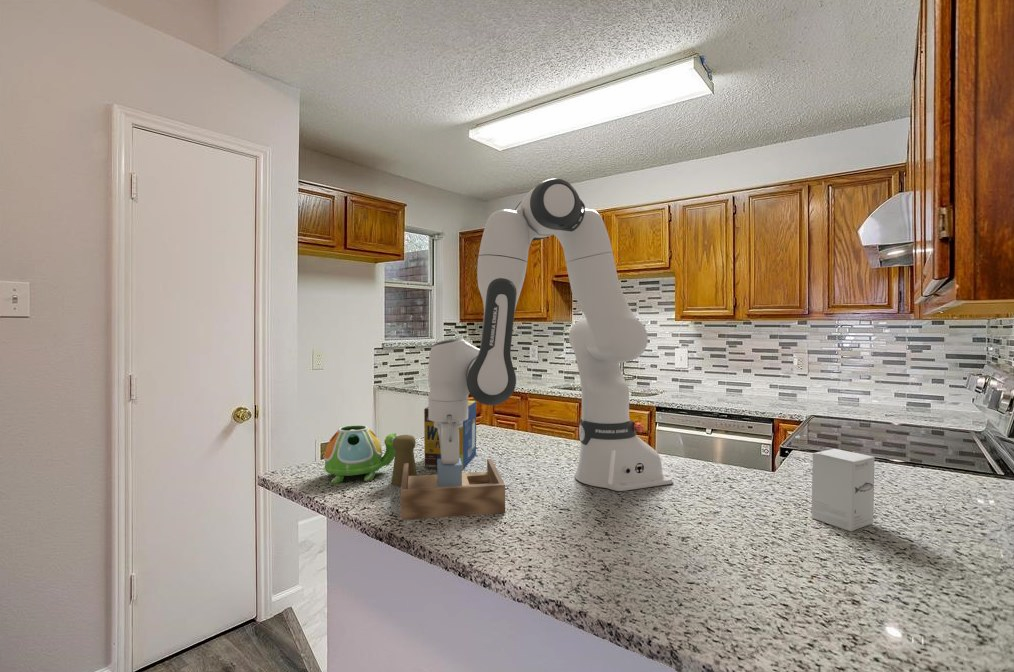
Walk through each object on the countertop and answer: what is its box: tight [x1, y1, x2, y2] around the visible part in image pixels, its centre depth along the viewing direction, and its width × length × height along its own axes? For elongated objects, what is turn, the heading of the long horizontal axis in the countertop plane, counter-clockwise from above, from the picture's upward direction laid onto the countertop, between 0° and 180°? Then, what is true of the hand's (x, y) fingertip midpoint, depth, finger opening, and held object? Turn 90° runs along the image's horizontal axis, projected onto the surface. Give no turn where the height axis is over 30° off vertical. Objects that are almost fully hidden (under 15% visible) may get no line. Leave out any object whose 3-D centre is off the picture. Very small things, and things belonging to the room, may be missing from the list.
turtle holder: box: [323, 424, 399, 484], centre depth 121 cm, size 12×18×12 cm
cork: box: [391, 434, 418, 488], centre depth 115 cm, size 6×6×11 cm
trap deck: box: [400, 458, 506, 521], centre depth 104 cm, size 20×19×6 cm
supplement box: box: [811, 448, 876, 532], centre depth 91 cm, size 7×7×13 cm
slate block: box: [436, 458, 463, 487], centre depth 105 cm, size 5×5×5 cm
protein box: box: [423, 400, 477, 471], centre depth 133 cm, size 10×15×16 cm
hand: (448, 473), depth 110 cm, fingers closed
